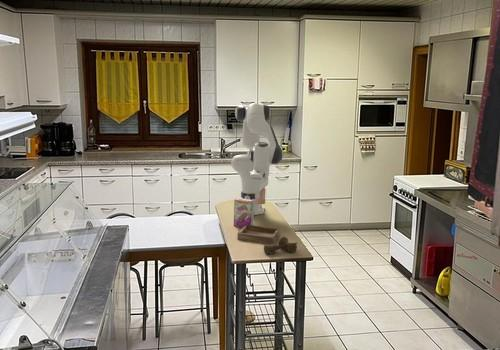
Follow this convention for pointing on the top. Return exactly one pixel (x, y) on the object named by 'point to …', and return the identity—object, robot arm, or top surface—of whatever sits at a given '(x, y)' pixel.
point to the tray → (258, 234)
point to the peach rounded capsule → (262, 197)
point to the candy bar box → (243, 212)
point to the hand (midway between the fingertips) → (260, 196)
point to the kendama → (281, 246)
